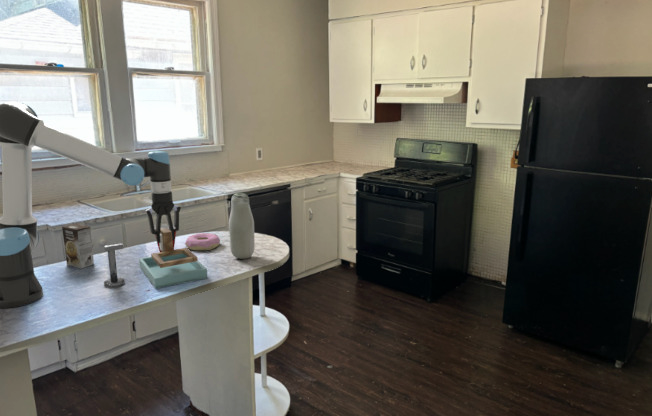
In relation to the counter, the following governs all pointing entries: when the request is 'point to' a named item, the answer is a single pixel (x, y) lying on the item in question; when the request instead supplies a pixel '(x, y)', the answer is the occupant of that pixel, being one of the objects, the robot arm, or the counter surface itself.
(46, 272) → the counter surface
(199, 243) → the donut
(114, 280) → the grey metal stand
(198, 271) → the tray
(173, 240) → the plastic cup
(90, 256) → the coffee box
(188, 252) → the ring
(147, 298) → the counter surface
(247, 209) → the glass bottle
